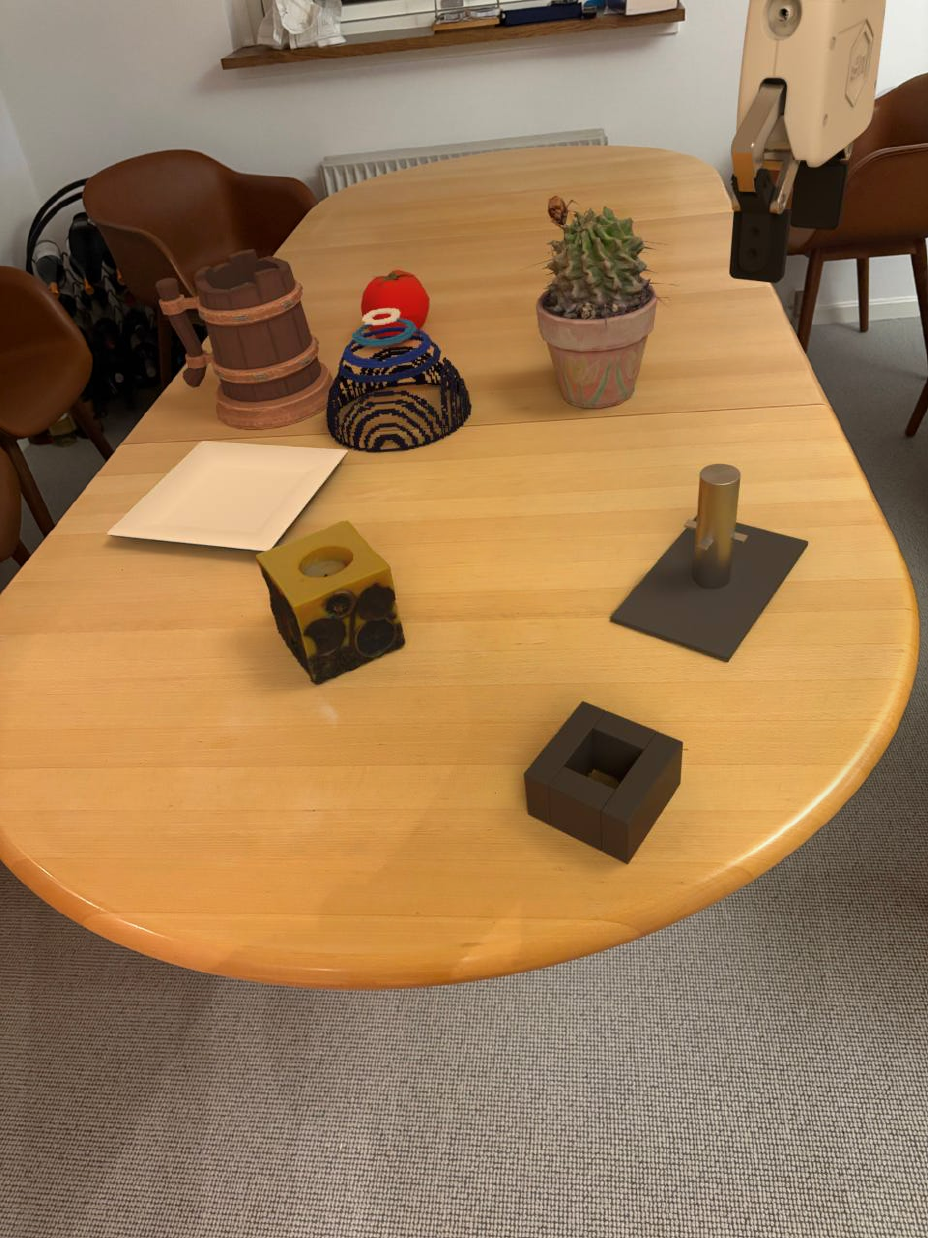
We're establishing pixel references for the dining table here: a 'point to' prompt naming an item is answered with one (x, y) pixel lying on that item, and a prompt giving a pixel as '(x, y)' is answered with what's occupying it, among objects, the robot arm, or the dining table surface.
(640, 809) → the dark square ring block
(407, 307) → the tomato
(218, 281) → the mug
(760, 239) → the robot arm
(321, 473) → the plate
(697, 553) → the bronze metal rod
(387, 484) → the dining table surface
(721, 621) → the mat
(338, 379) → the decorative bowl
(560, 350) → the potted plant
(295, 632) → the candle
